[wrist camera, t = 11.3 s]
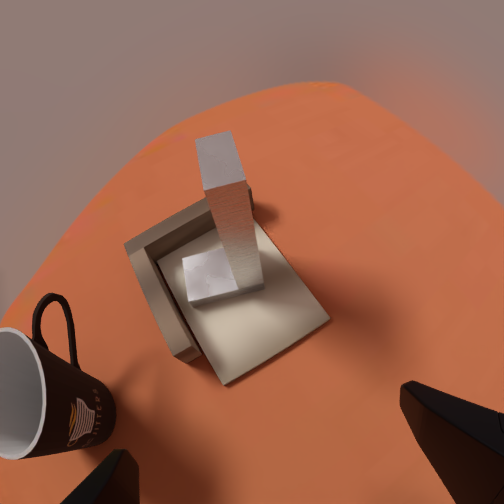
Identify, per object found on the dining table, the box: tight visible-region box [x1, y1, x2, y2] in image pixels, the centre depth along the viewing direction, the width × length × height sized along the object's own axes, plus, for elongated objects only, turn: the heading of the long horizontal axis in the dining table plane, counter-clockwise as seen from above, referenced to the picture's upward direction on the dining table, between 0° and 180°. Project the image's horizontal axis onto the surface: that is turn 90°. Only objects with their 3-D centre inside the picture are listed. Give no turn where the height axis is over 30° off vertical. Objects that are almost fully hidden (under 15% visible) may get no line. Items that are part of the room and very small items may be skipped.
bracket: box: [182, 131, 265, 307], centre depth 20 cm, size 4×6×12 cm, turn 103°
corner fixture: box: [124, 184, 330, 386], centre depth 25 cm, size 14×12×3 cm
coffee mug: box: [0, 293, 116, 460], centre depth 17 cm, size 12×9×10 cm
